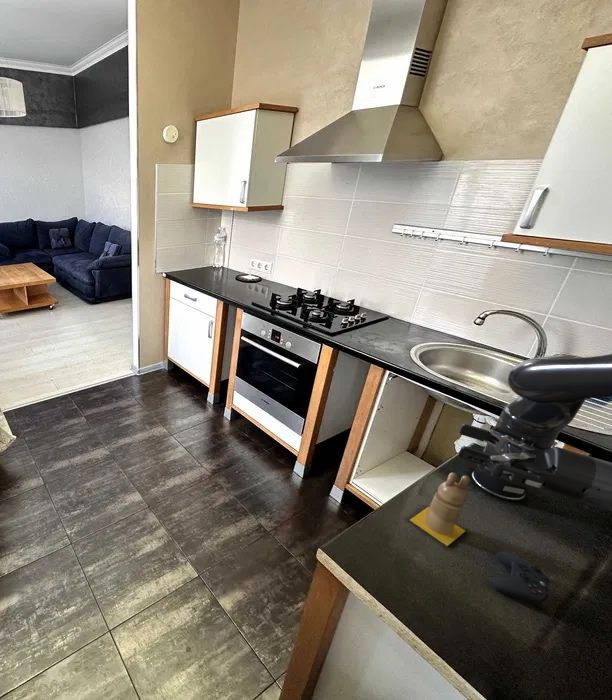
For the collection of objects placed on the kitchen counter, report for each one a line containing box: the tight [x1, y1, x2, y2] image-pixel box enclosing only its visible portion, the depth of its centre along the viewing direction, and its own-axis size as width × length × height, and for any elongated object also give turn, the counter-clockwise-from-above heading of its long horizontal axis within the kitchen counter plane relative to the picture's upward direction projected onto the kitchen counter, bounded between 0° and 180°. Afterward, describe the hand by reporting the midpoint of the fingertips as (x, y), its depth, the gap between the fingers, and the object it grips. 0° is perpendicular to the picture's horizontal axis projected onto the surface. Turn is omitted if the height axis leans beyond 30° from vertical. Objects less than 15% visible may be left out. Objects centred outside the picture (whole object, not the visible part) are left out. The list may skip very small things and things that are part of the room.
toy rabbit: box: [424, 472, 471, 535], centre depth 74 cm, size 5×5×13 cm
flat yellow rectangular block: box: [409, 506, 466, 547], centre depth 77 cm, size 7×7×1 cm
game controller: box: [490, 551, 550, 608], centre depth 65 cm, size 10×5×6 cm
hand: (460, 439), depth 70 cm, fingers open, 8 cm apart
